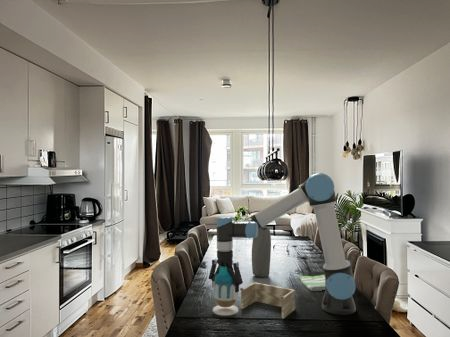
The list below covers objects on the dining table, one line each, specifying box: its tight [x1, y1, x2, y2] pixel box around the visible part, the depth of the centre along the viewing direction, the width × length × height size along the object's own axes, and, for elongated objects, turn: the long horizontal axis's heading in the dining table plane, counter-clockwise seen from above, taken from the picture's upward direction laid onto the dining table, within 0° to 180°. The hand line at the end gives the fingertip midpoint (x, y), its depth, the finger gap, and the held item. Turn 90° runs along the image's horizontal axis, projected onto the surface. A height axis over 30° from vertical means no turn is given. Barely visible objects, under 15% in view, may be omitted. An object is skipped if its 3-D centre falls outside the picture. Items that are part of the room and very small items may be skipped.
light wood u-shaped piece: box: [239, 282, 296, 320], centre depth 164 cm, size 22×14×10 cm, turn 56°
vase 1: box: [213, 265, 237, 307], centre depth 163 cm, size 11×11×19 cm
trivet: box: [212, 304, 239, 316], centre depth 163 cm, size 12×12×1 cm
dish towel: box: [298, 274, 325, 292], centre depth 201 cm, size 17×23×4 cm
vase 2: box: [251, 226, 272, 278], centre depth 218 cm, size 12×12×30 cm
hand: (225, 296), depth 163 cm, fingers closed on vase 1, 10 cm apart
